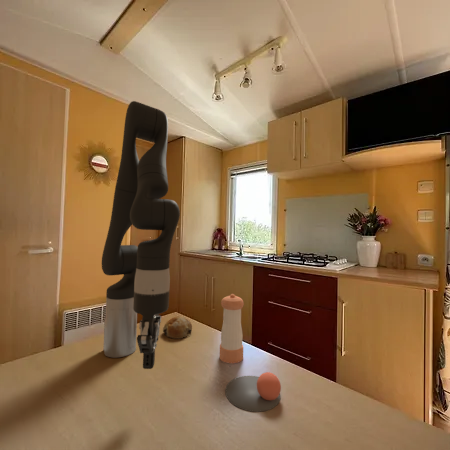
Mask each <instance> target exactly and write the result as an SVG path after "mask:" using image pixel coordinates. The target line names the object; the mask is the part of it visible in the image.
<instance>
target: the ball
mask: <svg viewBox="0 0 450 450" xmlns="http://www.w3.org/2000/svg"><path fill="white" fill-rule="evenodd" d="M258 377H259V378H258V380H257V390H258V393H259V394H260V396H261V397H262V398H264V399H265V400H274V399H276V398H277V397H278V396H279V394H280V395H281V391H282V385H281V382H280V379H279V377H278V376H277V375H275V374H274V373H272V372H270V371H269V372H263V373H261V374H260V375H259V376H258Z"/></svg>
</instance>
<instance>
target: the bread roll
mask: <svg viewBox="0 0 450 450" xmlns="http://www.w3.org/2000/svg"><path fill="white" fill-rule="evenodd" d="M192 329H193V325H192V322H191V321H190V320H189V319H188V318H187V317H185V316H181V315H180V316H173V317H172V318H169V319H168V320H167V322H165V323H164V326H163V327H162V332H163V333H164V335H165V337H167V338H170V339H184V338H183V337H185V338H187V337H186V336H189V337H190V336H191V333H192V331H193V330H192Z"/></svg>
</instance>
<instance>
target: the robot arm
mask: <svg viewBox="0 0 450 450" xmlns="http://www.w3.org/2000/svg"><path fill="white" fill-rule="evenodd" d="M123 127H124V128H123V138H122V148H121V155H120V163H119V166H118V174H117V178H116V182H115V189H114V193H113V200H112V201H113V202H112V208H111V215H110V222H109V226H108V231H107V234H106V239H105V242H104V247H103V250H102V256H101V270H102V272H103V274H104V275H106V276H120V275H122V278H121V279H120V280H118V281H117V282H116V283H113V284H111V285H110V286H108V287H107V288H106V291H105V293H106V297H105V298H106V299H105V301H106V302H105V320H104V323H103V325H104V326H103V327H104V328H103V352H104V355H105V357H108V358H122V357H127V356H130V355H131V354H133V353H135V351H136V350H137V345H138V348H139V353H140V354H143V357H142V368H143V369H144V370H152V369H153V368H154V366H155V362H156V361H155V357H156V349H157V345H158V344H157V343H158V341H159V336H160V328H161V323H162V315H160V314H163V313H165V312H167V311H168V310H169V306H170V284H171V283H170V282H171V276H170V275H171V274H170V261H171V260H170V259H171V258H170V257H171V248H172V245H173V244H172V243H173V239H174V236H175V232H176V229H177V227H178V224H179V221H180V215H181V210H180V207H179V204H178V203H177V202H176V201H175V200H173V199H165V198H164V197H165V196H167V194H168V191H169V180H168V170H167V154H168V153H167V152H168V151H167V150H168V137H169V134H168V133H169V120H168V116H167V114H166V113H165V112H164V111H162V110H160V109H159V108H155V107H153V106H151V105H148V104H145V103H142V102H139V101H136V100H132V101H131V102H130V103H129V104H128V106H127V109H126V113H125V118H124V126H123ZM137 139H140V140H144V141H146V142H151V143H153V145H152V146H150V148H149V149H148V150H146V152H145V153H143V155H142V156H141V158H140V159H139V156H138V152H137ZM132 226H133V227H134V228H135V229H137V230H141V231H142V230H143V231H145V230H146V231H148V230H149V231H161V232H160V234H159V236H158V237H156V238H153V239H149V240H143V241H141V242H140V243H138V245H135V244H125V245H123V244H122V243H123V239H124V238H125V235H126V233H127V232H128V230H129V229H130V228H131V227H132ZM138 314H139V315H141V316H142V318H141V320H139V326H137V324H138ZM137 327H139V330H140V332H139V333H140V334H138V335H137V331H138V329H137Z"/></svg>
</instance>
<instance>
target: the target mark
mask: <svg viewBox="0 0 450 450" xmlns="http://www.w3.org/2000/svg"><path fill="white" fill-rule="evenodd" d="M259 377H260V376H256V375H241V376H238V377H236V378H235V377H234V378H233V379H232V380H230V381H229V382H228V383H227V384H226V387H225V396H226V397H227V399H228V401H229V402H230V403H231V404H232V405H234V406H235V407H237V408H239V409H241V410H244V411H247V412H253V413H254V412H255V413H256V412H258V413H259V412H266V411H269V410H272V409H273V408H275V407H276V406H277V405H279V403H280V400H281V393H280V394H279V396H278V397H277V398H276V399H274V400H265V399H264V398H262V397H261V396H260V394H259V393H258V390H257V380H258V378H259Z"/></svg>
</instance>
